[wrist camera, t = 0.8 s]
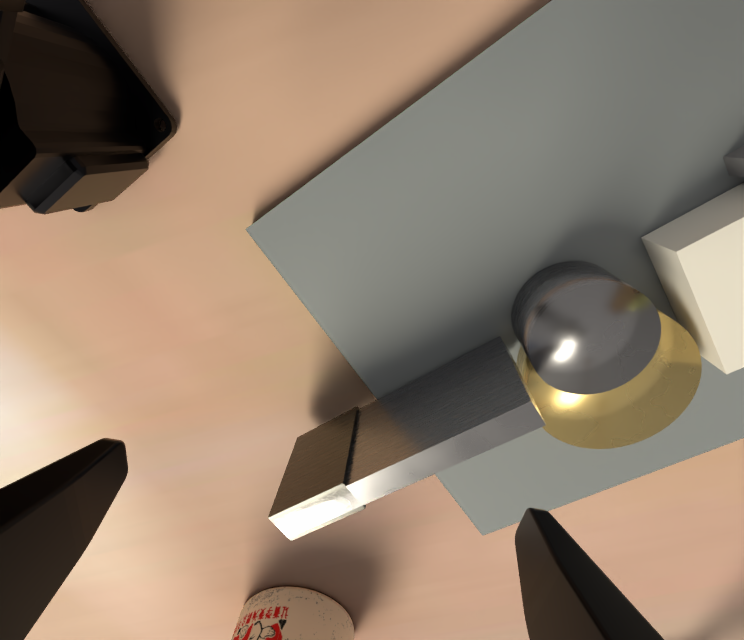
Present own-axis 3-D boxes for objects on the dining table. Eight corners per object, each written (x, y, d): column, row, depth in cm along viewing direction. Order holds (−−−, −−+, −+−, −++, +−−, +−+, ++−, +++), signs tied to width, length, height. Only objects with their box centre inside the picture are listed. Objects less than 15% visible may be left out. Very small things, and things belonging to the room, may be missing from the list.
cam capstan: (280, 414, 22) (243, 493, 17) (623, 224, 17) (714, 259, 12) (372, 518, 25) (363, 613, 20) (694, 382, 19) (792, 465, 14)
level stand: (251, 225, 19) (217, 244, 15) (936, -286, 11) (1157, -464, 8) (480, 524, 25) (491, 582, 22) (1012, 320, 18) (1153, 361, 15)
